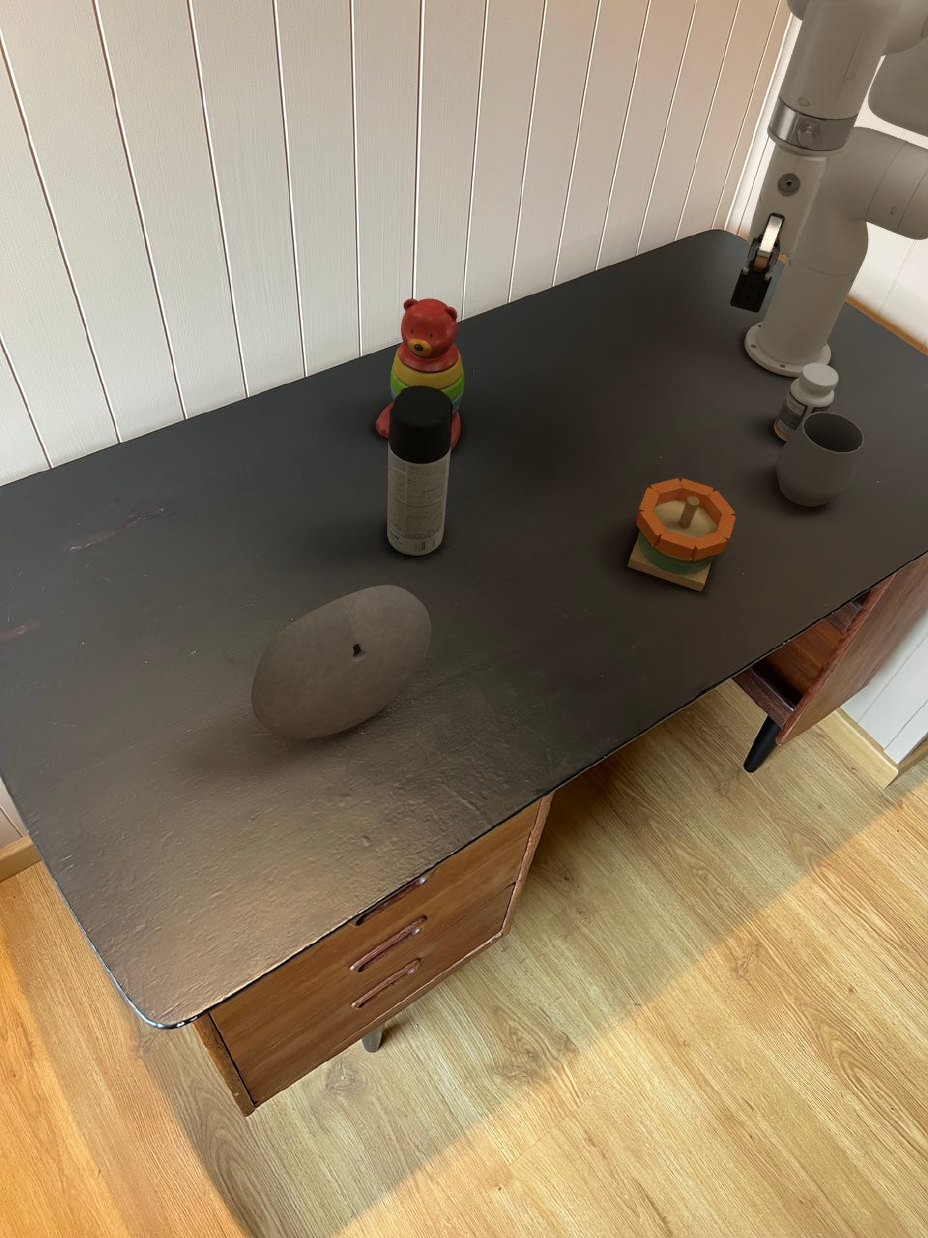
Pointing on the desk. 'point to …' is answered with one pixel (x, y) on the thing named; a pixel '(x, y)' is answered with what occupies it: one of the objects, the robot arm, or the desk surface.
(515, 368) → the desk surface
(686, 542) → the orange ring
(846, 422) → the cup
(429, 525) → the spray can
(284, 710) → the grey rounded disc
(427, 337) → the stacking bear
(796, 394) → the pill bottle
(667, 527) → the stacker
